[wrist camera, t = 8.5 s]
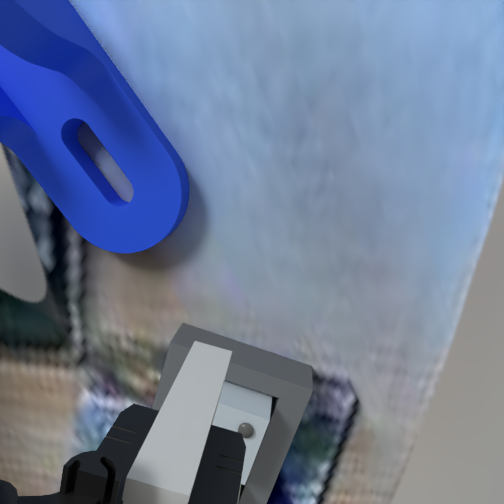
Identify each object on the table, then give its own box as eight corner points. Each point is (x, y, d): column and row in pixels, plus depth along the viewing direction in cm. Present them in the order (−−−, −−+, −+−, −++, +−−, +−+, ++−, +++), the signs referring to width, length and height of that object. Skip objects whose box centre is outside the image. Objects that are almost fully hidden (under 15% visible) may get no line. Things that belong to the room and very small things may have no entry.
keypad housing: (120, 543, 36) (104, 578, 33) (182, 322, 30) (170, 342, 27) (225, 580, 36) (218, 619, 33) (311, 366, 29) (313, 390, 26)
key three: (182, 424, 30) (167, 460, 27) (201, 364, 29) (187, 394, 25) (250, 448, 30) (244, 487, 26) (272, 388, 28) (269, 422, 25)
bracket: (-45, 50, 27) (-210, 4, 18) (41, -39, 25) (-97, -138, 16) (124, 267, 29) (51, 318, 21) (213, 202, 27) (174, 229, 19)
